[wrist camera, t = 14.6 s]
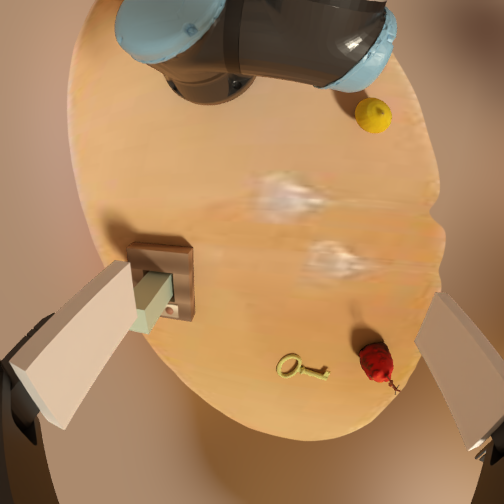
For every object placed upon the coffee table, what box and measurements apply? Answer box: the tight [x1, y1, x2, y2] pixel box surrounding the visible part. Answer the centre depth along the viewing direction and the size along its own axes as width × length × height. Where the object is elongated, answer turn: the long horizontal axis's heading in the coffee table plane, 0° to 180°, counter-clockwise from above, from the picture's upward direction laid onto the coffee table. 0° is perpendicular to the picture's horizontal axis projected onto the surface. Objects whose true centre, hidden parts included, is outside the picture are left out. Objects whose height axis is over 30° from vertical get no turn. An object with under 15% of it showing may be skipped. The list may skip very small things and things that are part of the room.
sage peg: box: [129, 271, 174, 334], centre depth 44 cm, size 4×4×14 cm
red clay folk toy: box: [359, 342, 401, 395], centre depth 47 cm, size 8×7×15 cm
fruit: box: [355, 98, 392, 133], centre depth 33 cm, size 6×6×8 cm
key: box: [277, 354, 331, 380], centre depth 56 cm, size 7×12×2 cm, turn 88°
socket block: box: [126, 242, 195, 322], centre depth 49 cm, size 14×12×3 cm
